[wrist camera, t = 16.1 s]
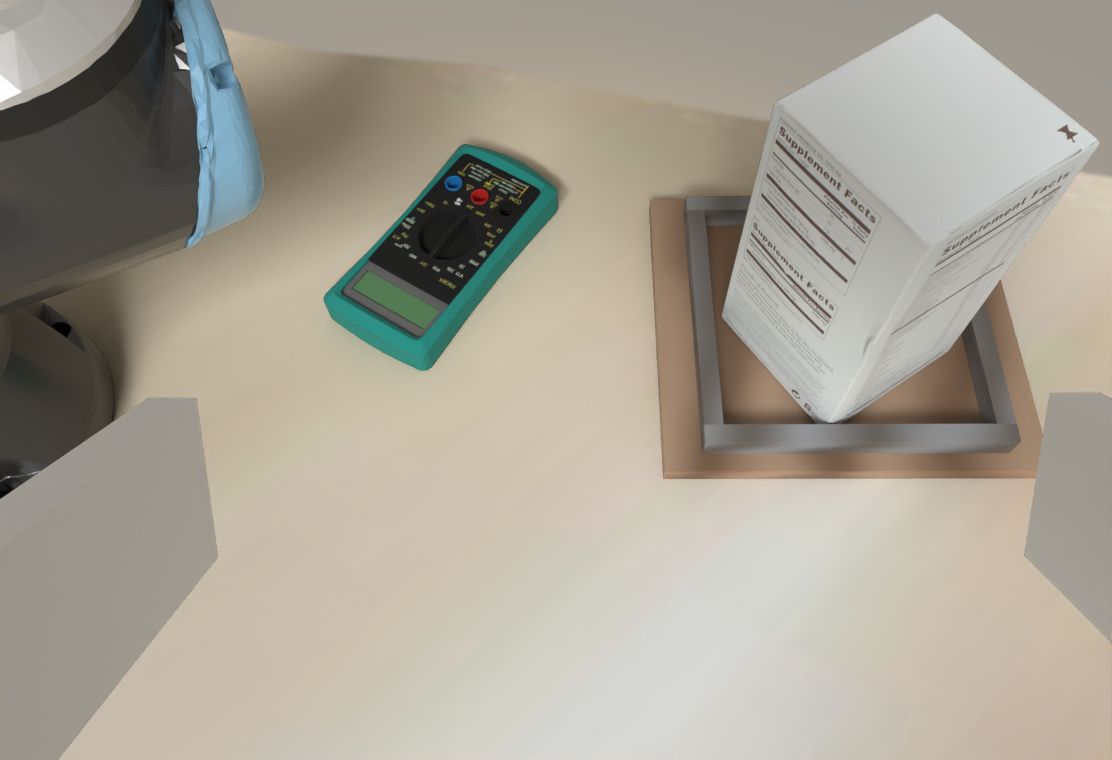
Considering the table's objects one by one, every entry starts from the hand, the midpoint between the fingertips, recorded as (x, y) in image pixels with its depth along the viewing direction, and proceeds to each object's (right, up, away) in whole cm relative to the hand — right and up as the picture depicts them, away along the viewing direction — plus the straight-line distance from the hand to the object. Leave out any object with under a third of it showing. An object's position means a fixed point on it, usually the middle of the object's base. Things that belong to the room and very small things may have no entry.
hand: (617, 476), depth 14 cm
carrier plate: (+15, +4, +38) cm, 41 cm away
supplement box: (+15, +4, +37) cm, 40 cm away
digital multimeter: (-8, +9, +41) cm, 43 cm away
